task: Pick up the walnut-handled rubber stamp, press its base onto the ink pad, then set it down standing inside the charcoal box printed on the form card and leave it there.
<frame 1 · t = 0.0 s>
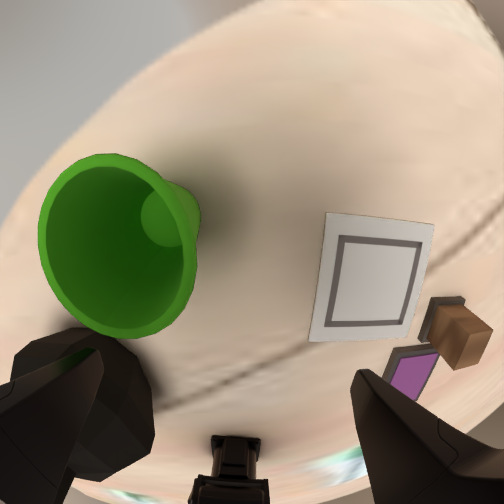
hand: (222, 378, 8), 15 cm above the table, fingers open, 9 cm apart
form: (374, 283, 23), on the table
cup: (171, 215, 22), on the table
ink pad: (405, 375, 26), on the table
stamp: (440, 317, 24), on the table
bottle: (104, 367, 27), on the table
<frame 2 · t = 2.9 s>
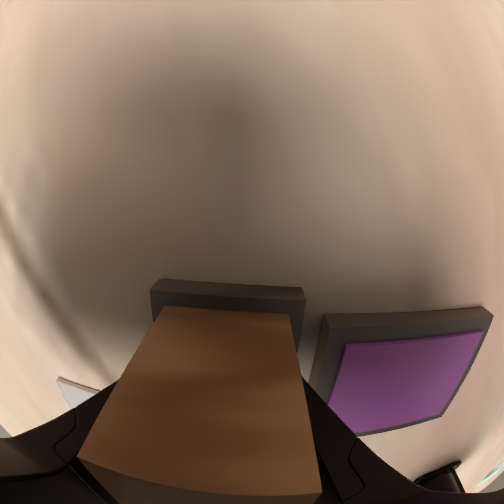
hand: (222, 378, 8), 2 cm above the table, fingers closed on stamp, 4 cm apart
form: (165, 454, 13), on the table
ink pad: (397, 374, 11), on the table
stamp: (227, 343, 10), on the table, touching gripper
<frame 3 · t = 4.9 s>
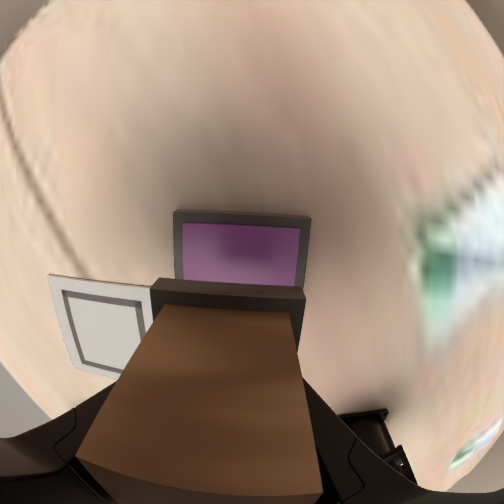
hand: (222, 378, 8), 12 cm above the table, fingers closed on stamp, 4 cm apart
form: (107, 335, 21), on the table
ink pad: (239, 261, 19), on the table
stamp: (227, 342, 10), point 10 cm above the table, touching gripper
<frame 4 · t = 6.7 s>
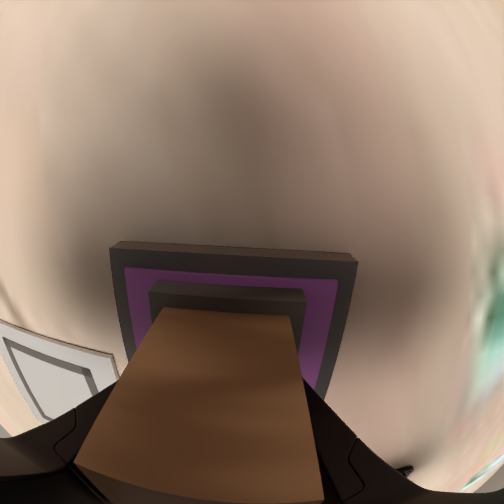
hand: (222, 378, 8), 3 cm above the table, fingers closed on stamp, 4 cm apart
form: (61, 396, 13), on the table
ink pad: (229, 328, 11), on the table
stamp: (227, 344, 10), point 1 cm above the table, touching gripper, ink pad
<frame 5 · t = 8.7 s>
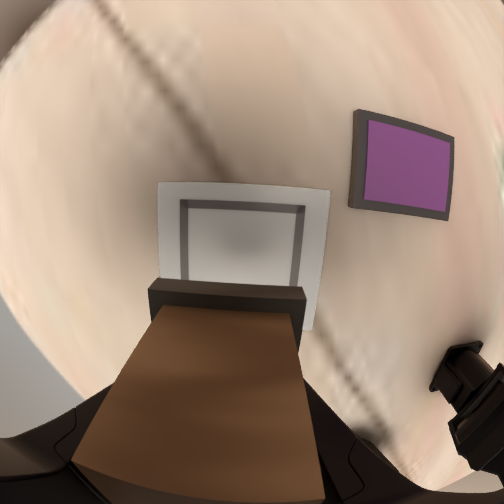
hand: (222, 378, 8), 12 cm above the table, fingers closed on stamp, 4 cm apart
form: (239, 260, 20), on the table
ink pad: (404, 167, 17), on the table
stamp: (227, 343, 10), point 10 cm above the table, touching gripper
when the fingers open (3 cm above the table, at t = 10.5 s): stamp stays where it is, resting on form.
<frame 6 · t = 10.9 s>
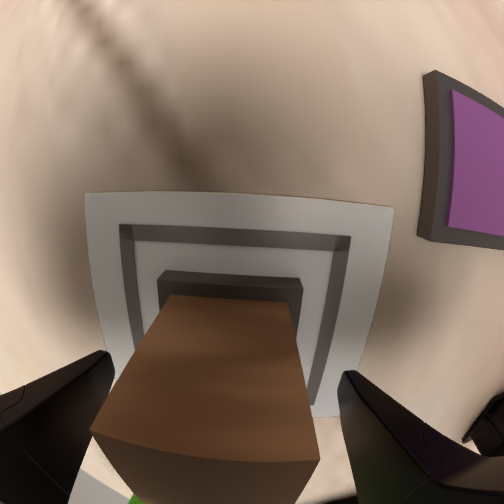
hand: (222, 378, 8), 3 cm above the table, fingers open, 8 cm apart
form: (228, 329, 11), on the table
ink pad: (489, 173, 9), on the table
stamp: (229, 331, 11), resting on form
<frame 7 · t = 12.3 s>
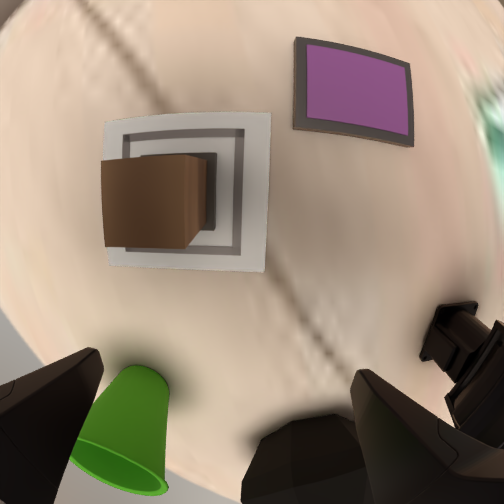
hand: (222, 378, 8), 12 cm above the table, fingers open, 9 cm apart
form: (179, 191, 18), on the table
cup: (145, 382, 23), on the table
ink pad: (355, 92, 16), on the table
stamp: (179, 190, 18), resting on form
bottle: (310, 441, 26), on the table
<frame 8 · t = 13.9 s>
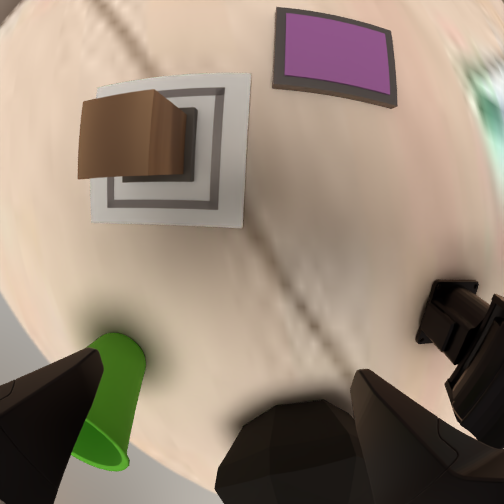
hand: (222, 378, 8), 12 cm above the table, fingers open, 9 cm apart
form: (161, 147, 17), on the table
cup: (123, 352, 23), on the table
ink pad: (335, 55, 15), on the table
stamp: (160, 146, 17), resting on form
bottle: (297, 430, 25), on the table
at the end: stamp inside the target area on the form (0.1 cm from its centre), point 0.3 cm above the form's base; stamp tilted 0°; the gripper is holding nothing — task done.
